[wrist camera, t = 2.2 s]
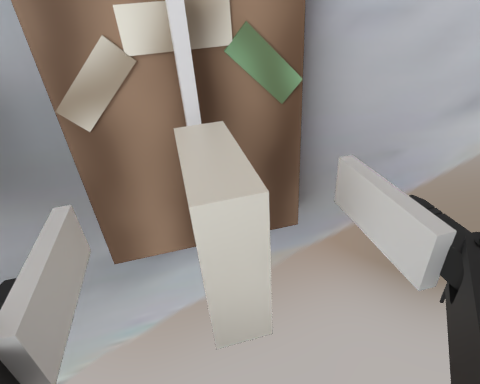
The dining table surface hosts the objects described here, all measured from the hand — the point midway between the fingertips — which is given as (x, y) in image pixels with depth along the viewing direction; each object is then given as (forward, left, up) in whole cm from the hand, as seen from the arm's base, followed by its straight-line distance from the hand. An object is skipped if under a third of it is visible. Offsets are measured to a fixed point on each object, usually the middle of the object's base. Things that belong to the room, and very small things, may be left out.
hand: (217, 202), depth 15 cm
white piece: (0, +3, -6) cm, 7 cm away
